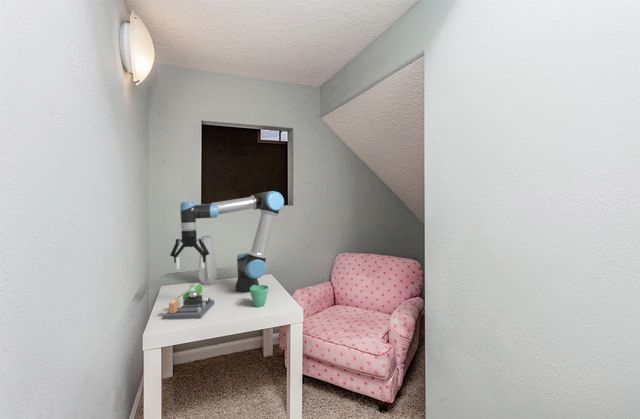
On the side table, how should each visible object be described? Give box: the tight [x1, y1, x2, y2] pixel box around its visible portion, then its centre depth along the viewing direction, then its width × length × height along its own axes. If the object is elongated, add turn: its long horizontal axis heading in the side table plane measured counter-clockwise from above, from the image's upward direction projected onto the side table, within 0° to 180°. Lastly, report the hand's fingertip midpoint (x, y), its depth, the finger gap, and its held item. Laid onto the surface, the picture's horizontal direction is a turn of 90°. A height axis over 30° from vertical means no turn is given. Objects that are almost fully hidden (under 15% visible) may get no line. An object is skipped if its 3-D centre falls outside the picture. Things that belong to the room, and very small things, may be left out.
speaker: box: [184, 282, 203, 300], centre depth 182 cm, size 18×7×8 cm, turn 12°
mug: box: [249, 284, 269, 308], centre depth 170 cm, size 15×10×10 cm
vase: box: [198, 235, 218, 286], centre depth 213 cm, size 12×12×33 cm
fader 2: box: [174, 295, 184, 308], centre depth 162 cm, size 2×4×5 cm, turn 1°
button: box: [189, 291, 198, 299], centre depth 169 cm, size 4×4×4 cm
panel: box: [163, 294, 215, 320], centre depth 162 cm, size 18×21×5 cm
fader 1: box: [168, 299, 178, 313], centre depth 155 cm, size 2×4×5 cm, turn 1°
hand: (190, 268), depth 169 cm, fingers open, 13 cm apart
